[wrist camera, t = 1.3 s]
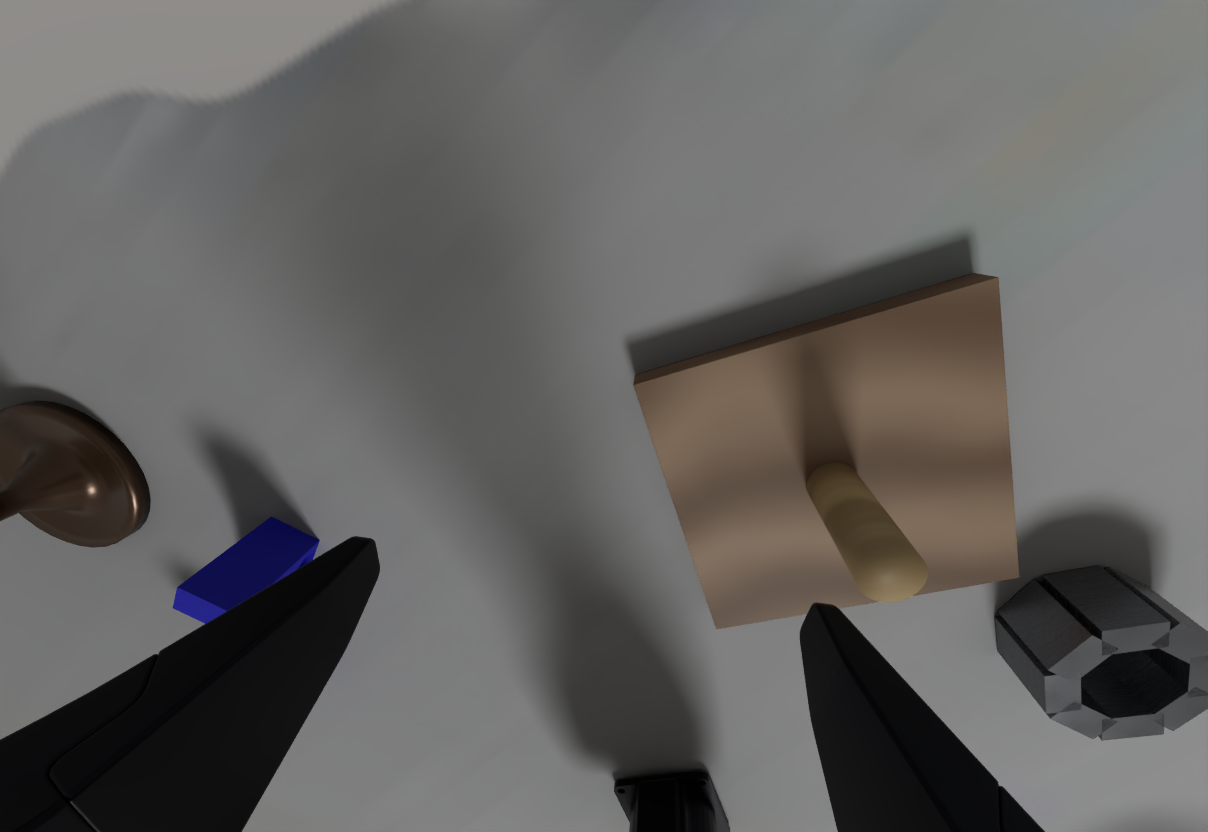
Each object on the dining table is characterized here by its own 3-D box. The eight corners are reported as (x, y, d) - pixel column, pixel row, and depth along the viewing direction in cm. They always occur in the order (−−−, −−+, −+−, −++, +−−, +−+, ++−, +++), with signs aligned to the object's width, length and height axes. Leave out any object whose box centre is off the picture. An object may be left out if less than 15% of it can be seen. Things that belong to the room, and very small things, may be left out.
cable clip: (297, 671, 33) (222, 763, 27) (235, 642, 32) (146, 729, 27) (345, 550, 28) (267, 630, 23) (273, 514, 28) (177, 587, 22)
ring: (1149, 661, 25) (1222, 728, 21) (1000, 681, 26) (1048, 745, 23) (1154, 556, 23) (1236, 612, 19) (991, 583, 24) (1042, 639, 21)
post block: (998, 556, 23) (1138, 696, 17) (713, 608, 27) (731, 744, 20) (973, 273, 19) (1152, 302, 12) (635, 374, 22) (622, 444, 15)
